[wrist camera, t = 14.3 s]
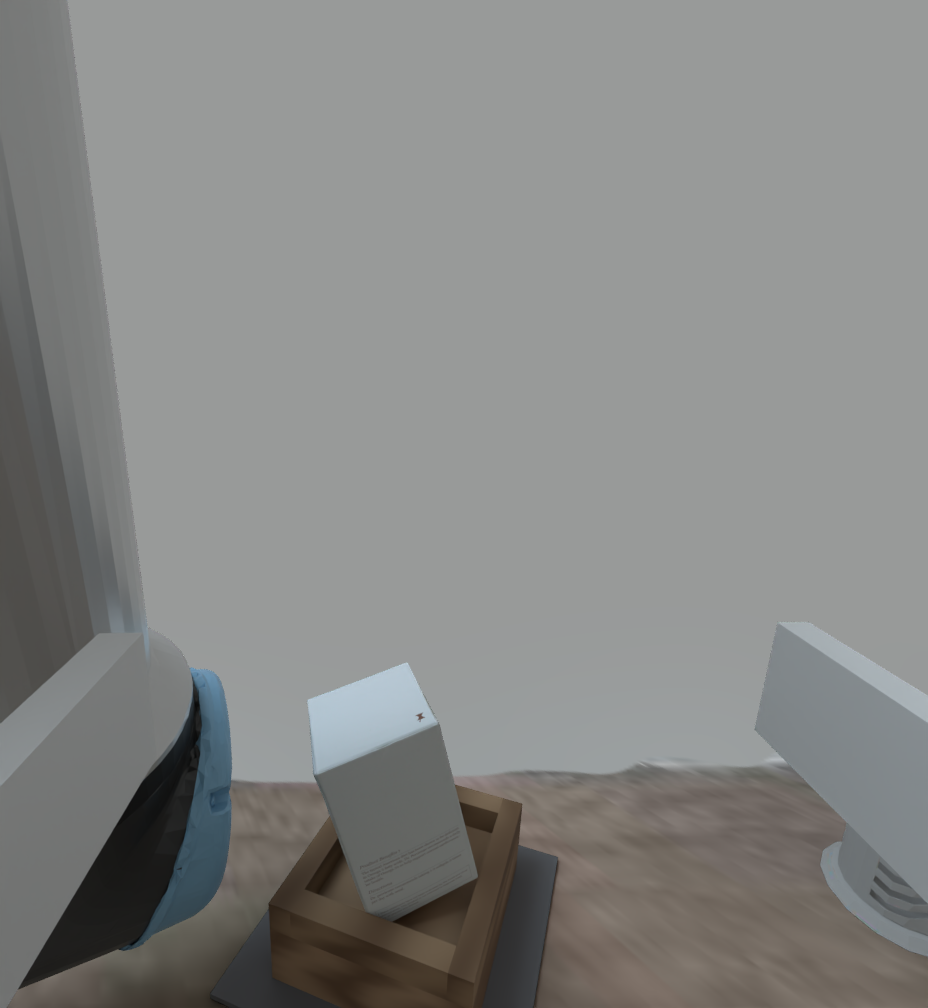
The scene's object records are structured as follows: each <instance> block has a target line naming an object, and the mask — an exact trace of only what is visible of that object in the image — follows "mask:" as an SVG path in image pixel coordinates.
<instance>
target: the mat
mask: <svg viewBox="0 0 928 1008" xmlns="http://www.w3.org/2000/svg"><path fill="white" fill-rule="evenodd" d="M557 860H558V857H556V856H552V855H549V854H546V853H543V852H539V851H536V850H533V849H529V848H526V847H523V846H520V845H518V855H517V865H516V870H515V874H514V878H513V882H512V887H511V891H510V895H509V899H508V903H507V907H506V911H505V915H504V919H503V923H502V927H501V931H500V935H499V940H498V944H497V948H496V952H495V956H494V960H493V964H492V968H491V972H490V976H489V980H488V984H487V988H486V992H485V997H484V1001H483V1005H482V1008H533V1007H534V1001H535V995H536V989H537V982H538V976H539V970H540V964H541V958H542V952H543V946H544V940H545V934H546V927H547V921H548V915H549V909H550V903H551V897H552V891H553V885H554V879H555V872H556V866H557ZM210 998H211V999H213V1000H215V1001H217V1002H219V1003H221V1004H224V1005H226V1006H228V1007H230V1008H341V1007H339V1006H337V1005H334V1004H332V1003H330V1002H327V1001H325V1000H323V999H320V998H318V997H316V996H314V995H311V994H309V993H307V992H304V991H302V990H300V989H297V988H295V987H293V986H290V985H288V984H286V983H284V982H281V981H279V980H277V979H274V978H272V961H271V942H270V922H269V909H268V911H267V912H266V914H265V915H264V916H263V918H262V919H261V921H260V922H259V924H258V925H257V927H256V928H255V929H254V931H253V932H252V934H251V935H250V937H249V938H248V940H247V941H246V942H245V944H244V945H243V947H242V948H241V950H240V951H239V953H238V954H237V955H236V957H235V958H234V960H233V961H232V963H231V964H230V966H229V967H228V968H227V970H226V971H225V973H224V974H223V976H222V977H221V979H220V980H219V981H218V983H217V984H216V986H215V987H214V989H213V990H212V992H211V993H210Z"/></svg>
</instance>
